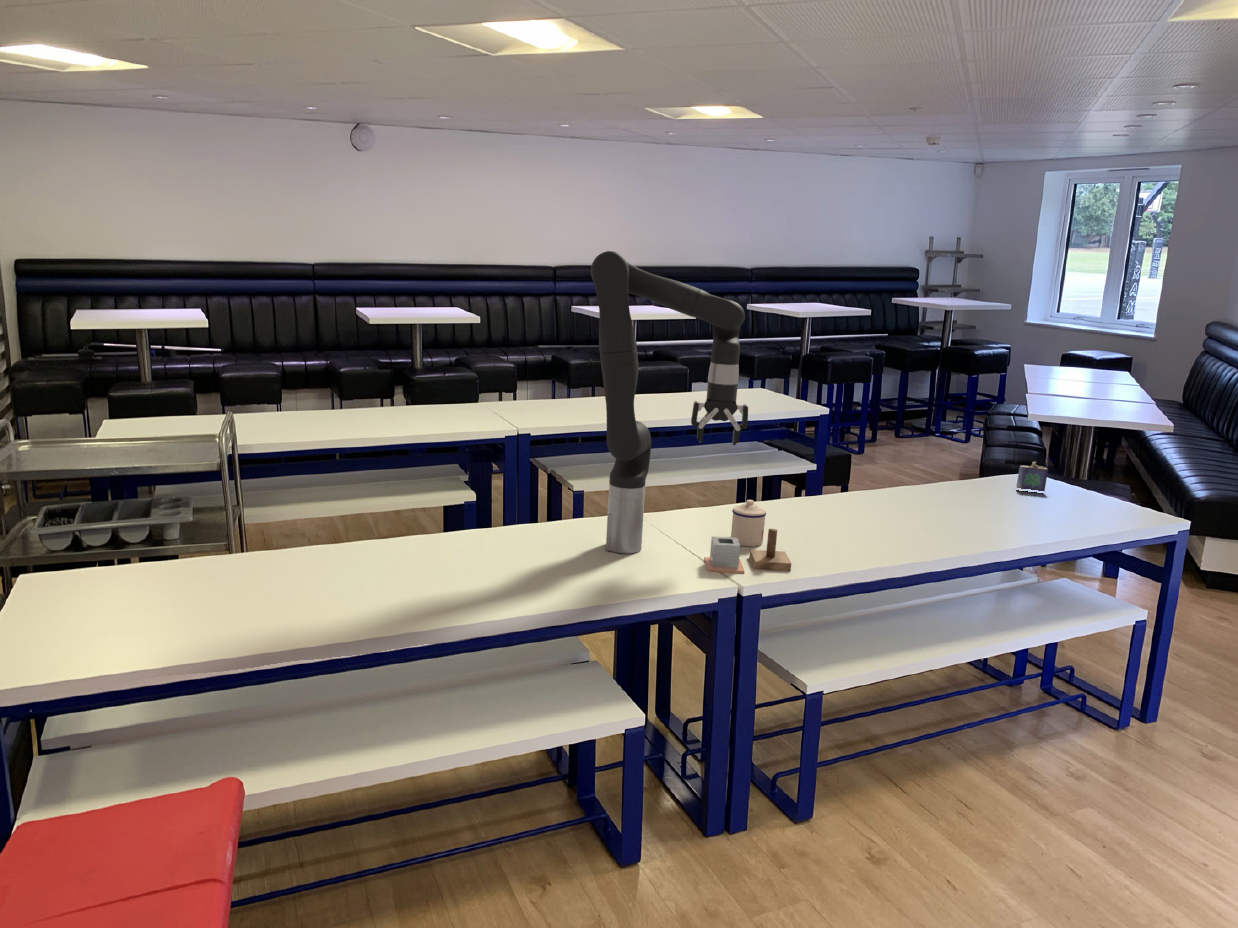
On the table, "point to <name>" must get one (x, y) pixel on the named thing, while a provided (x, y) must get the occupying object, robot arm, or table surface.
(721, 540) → the grey square nut
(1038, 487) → the flask
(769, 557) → the post block
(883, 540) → the table surface
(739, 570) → the tile
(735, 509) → the beige lidded canister
